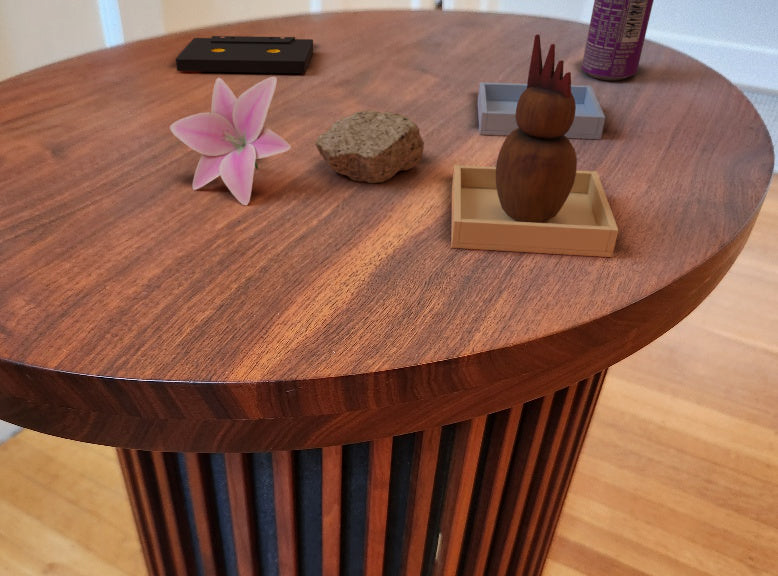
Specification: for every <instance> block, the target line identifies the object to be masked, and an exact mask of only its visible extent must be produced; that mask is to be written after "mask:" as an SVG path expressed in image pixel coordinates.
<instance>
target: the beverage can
mask: <svg viewBox="0 0 778 576" xmlns="http://www.w3.org/2000/svg"><path fill="white" fill-rule="evenodd" d="M593 1H594V2H593V7H592V11H591V16H590V22H589V26H588V33H587V37H586V42H585V46H584V47H585V48H584V51H583V52H584V53H583V58H582V63H581V70H582V71H583V72H585V73H587V74H588V76H590V77H591V78H594V79H597V80H601V81H621V80H625V79H627V78H629V77H631V76H634V75H635V74H637V73H638V69H639V66H640V65H639V64H640V60H641V55H642V52H643V46H644V43H645V39H646V35H647V31H648V26H649V22H650V18H651V13H652V10H653V5H654V1H655V0H593Z"/></svg>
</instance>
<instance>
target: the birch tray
mask: <svg viewBox="0 0 778 576" xmlns="http://www.w3.org/2000/svg"><path fill="white" fill-rule="evenodd" d="M450 230H451V231H450V232H451V234H450V235H451V236H450V237H451V238H450V239H451V240H450V247H451V249H467V250H468V249H469V250H483V251H499V252H500V251H501V252H517V253H532V254H533V253H534V254H549V255H550V254H551V255H565V256H566V255H568V256H585V257H602V258H612V257H613V255H614V250H615V247H616V243H617V238H618V235H619V227H618V225H617V222H616V219H615V217H614V214H613V211H612V208H611V206H610V203H609V200H608V197H607V195H606V192H605V189H604V186H603V184H602V181H601V178H600V176H599V173H598V171H597V170H578V169H577V170H576V176H575V181H574V185H573V187H572V189H571V191H570V194H569V196H568V198H567V200H566V201H565V203H564V205H563V206H562V208H561V210H560V211H559V212H558V213H557V215H556V216H555V217H553V218H551V219H550V220H548V221H546V222H543V223H531V222H521V221H518V220H516V219H513V218H512V217H510V216H508V215H507V214H506V213H505V211H504V210H503V209H502V207H501V204H500V201H499V197H498V193H497V187H496V166H487V165H485V166H484V165H465V164H463V165H462V164H454V165H453V176H452V185H451V229H450Z"/></svg>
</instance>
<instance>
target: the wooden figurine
mask: <svg viewBox="0 0 778 576" xmlns="http://www.w3.org/2000/svg"><path fill="white" fill-rule="evenodd" d="M542 54H543V53H542V44H541V35H540V34H535V35H534V39H533V46H532V51H531V57H530V63H529V69H528V76H527V82H526V84H527V89H526V90H525V91H524V92H523V93H522V94H521V96H520V98H519V100H518V103H517V108H516V115H515V118H516V122H517V126H518V127H519V128H517V129H515V130H513V131H512V132H511V133H510V134H509V135H508V136H506V137H505V139H504V141H503V142H502V145H501V148H500V149H499V152H498V155H497V160H496V166H495V167H496V187H497V193H498V197H499V201H500V204H501V207H502V209H503V210H504V211H505V213H506V214H507V215H508V216H510V217H512V218H513V219H516V220H518V221H521V222H531V223H543V222H546V221H548V220H550V219H551V218H553V217H555V216H556V215H557V213H558V212H559V211H560V210H561V208H562V206H563V205H564V203H565V201H566V200H567V198H568V196H569V194H570V191H571V189H572V187H573V185H574V181H575V176H576V170H577V171H578V168H577V167H578V159H577V154H576V153H577V152H576V149H575V147H574V146H573V144H572V143H571V141H570V140H569V138H567V137H566V136H564V135H565V134H566V133H567V132H568V131H569V129H570V127H571V126H572V124H573V121H574V117H575V111H576V105H575V99H574V97H573V95H572V93H571V85H572V73H571V72H570V71H568V72H566V73H565V74H564V65H565V64H564V63H565V62H564V61H565V60H562V59H561V60H559V61H558V62H557V64H556V67H555V61H556V60H555V59H556V45H555V43H552V44H550V46H549V49H548V52H547V55H546V58H545V61H544V65H543V55H542Z"/></svg>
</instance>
